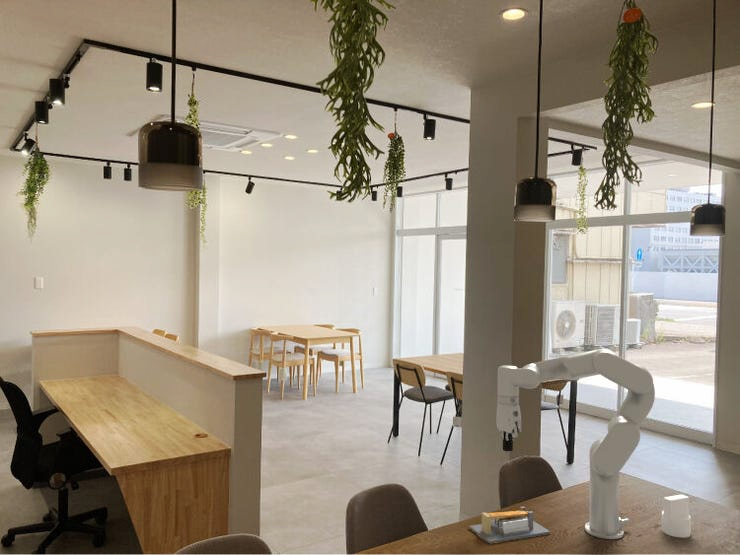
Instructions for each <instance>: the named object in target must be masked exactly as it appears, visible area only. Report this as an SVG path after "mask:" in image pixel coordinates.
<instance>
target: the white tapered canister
mask: <svg viewBox="0 0 740 555" xmlns="http://www.w3.org/2000/svg"><path fill="white" fill-rule="evenodd" d="M662 508H663V510H662V511H661V531H662V532H663V533H664V534H666V535H668V536H671V537H674V538H689V537H690V536H691V535H692V534H691V533H692V532H691V529H692V528H691V527H692V526H691V525H692V522H691V520H692V517H691V515H690V497H689V496H687V495H685V494H677V495H675V494H674V495H671V496H670V495H669V496H664V497H663V507H662Z"/></svg>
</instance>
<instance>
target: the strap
mask: <svg viewBox="0 0 740 555" xmlns="http://www.w3.org/2000/svg"><path fill="white" fill-rule="evenodd" d="M528 512H529V511H527V510H521V511H520V510H509V511H500V512H499V511H498V512H486V513H487V514H488V515H490V516H491V519H496V518H508V517H520V516H525V517H528Z"/></svg>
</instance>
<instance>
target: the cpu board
mask: <svg viewBox="0 0 740 555" xmlns="http://www.w3.org/2000/svg"><path fill="white" fill-rule="evenodd" d="M526 509H527V508H526V506H520V507H519V511H521V510H526ZM526 511H527V510H526ZM527 512H528V516H522V517H525V519H528V527H529V532H525V533H519V534H513V535H507V536H503V535H502V534H501V533H499V532H498V531H497V530H495V529H494V528H493V527H491V516H490V515H488V514H487V513H488V512H481V523H480V524H473V525H469V526H468V528H469V527H470V528H471V529H473V530H474V531H475V532H476V533H477V534H479V535H480V536H481V537H482V538H483V539H485V540H486V541H487V542H488V543H493V542H501V543H504V542H503V541H507V542H510V541H509V540H513V541H516V540H515V539H519V540H524V539H523V538H525V539H529V538H528V537H531V538H537V537H542V536H541V535H543V536H549V535H551V532H550V530H549V529H547V528H546V527H544V526H542V525H541V524H539V523H537V522H536V521H534V512H533V510H531V511H527ZM477 534H476V535H477ZM548 534H549V535H548ZM536 536H537V537H536ZM482 538H481V539H482ZM483 539H482V540H483ZM487 542H486V543H487ZM488 543H487V544H488Z"/></svg>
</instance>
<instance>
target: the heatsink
mask: <svg viewBox="0 0 740 555" xmlns="http://www.w3.org/2000/svg"><path fill="white" fill-rule="evenodd" d="M525 517H526V516H525ZM525 517H522V516H520V517H508V518H496V519H491V527H493V528H494V529H495V530H497V531H498V532H499V533H501V534H502V535H503V536H507V535H513V534H519V533H525V532H529V527H528V519H525Z"/></svg>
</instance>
